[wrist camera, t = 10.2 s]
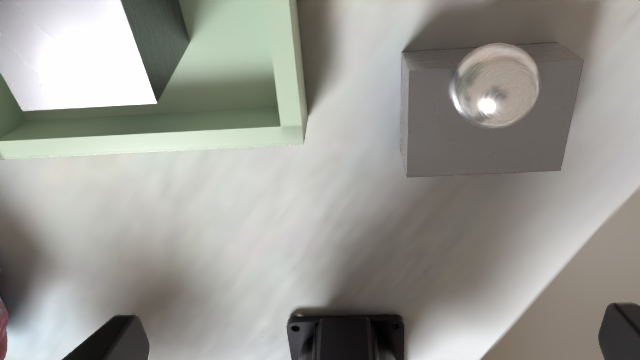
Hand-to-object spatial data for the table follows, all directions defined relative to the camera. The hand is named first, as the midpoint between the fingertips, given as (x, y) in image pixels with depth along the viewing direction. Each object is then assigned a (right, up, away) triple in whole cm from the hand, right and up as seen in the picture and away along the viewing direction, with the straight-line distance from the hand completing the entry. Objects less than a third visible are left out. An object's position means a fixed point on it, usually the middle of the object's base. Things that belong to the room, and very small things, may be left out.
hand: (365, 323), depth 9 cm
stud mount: (+6, +6, +11) cm, 13 cm away
